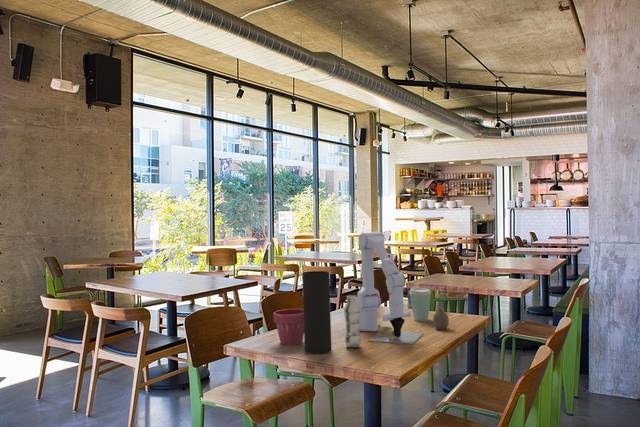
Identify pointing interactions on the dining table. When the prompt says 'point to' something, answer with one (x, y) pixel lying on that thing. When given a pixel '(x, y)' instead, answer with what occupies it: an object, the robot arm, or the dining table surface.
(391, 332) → the fence panel
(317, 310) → the vase
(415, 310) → the disposable coffee cup
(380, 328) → the fence fixed
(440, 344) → the dining table surface
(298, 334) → the plant pot
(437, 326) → the vase
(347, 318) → the plastic bottle
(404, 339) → the card
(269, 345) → the dining table surface
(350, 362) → the dining table surface
